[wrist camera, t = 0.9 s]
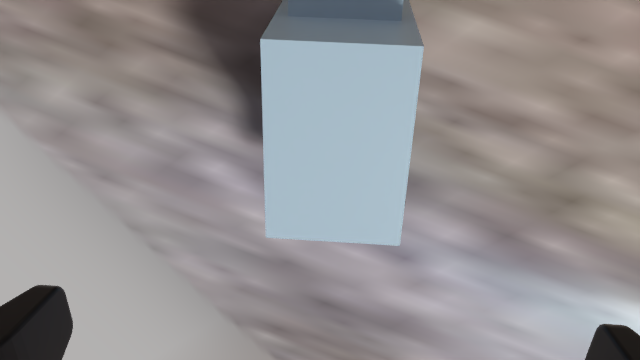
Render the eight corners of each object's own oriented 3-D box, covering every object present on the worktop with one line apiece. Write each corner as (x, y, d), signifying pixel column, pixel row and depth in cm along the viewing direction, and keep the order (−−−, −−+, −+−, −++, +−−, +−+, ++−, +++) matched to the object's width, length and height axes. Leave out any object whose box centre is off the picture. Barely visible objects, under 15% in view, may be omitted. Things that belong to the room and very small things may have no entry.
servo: (413, -52, 17) (431, -19, 13) (388, 193, 22) (394, 284, 17) (286, -56, 18) (258, -25, 13) (287, 187, 22) (267, 276, 17)
